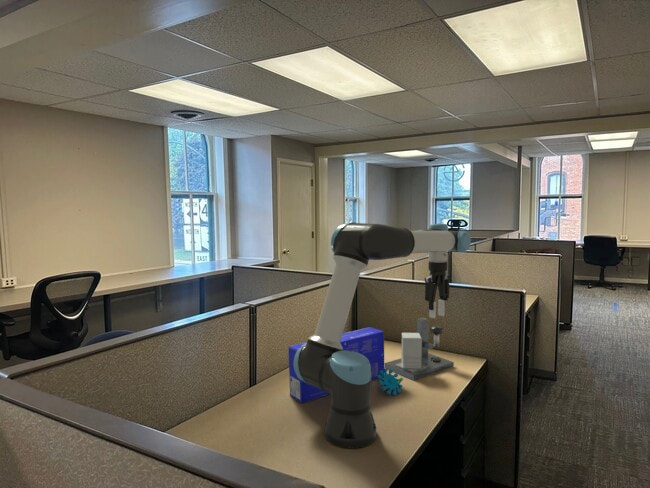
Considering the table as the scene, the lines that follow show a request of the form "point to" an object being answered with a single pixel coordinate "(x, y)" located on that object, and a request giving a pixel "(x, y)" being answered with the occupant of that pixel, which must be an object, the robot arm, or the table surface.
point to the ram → (436, 334)
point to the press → (428, 361)
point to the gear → (390, 382)
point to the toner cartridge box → (357, 341)
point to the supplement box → (411, 350)
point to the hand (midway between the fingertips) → (436, 316)
